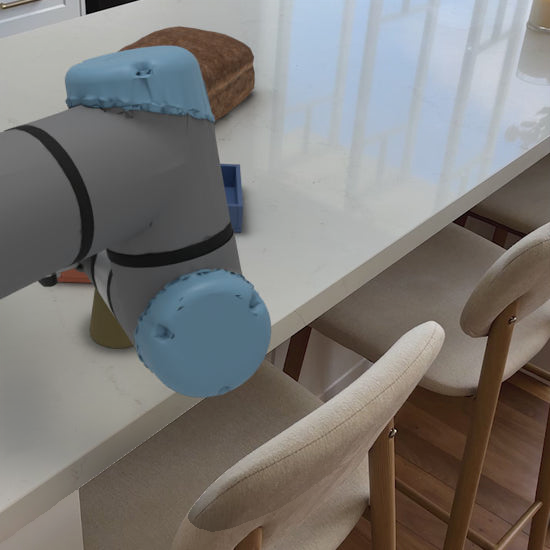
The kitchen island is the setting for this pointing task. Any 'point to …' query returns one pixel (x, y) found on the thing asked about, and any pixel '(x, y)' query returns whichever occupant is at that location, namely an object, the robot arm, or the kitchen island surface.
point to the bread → (211, 63)
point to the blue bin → (233, 193)
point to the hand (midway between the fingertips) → (86, 200)
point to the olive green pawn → (106, 326)
